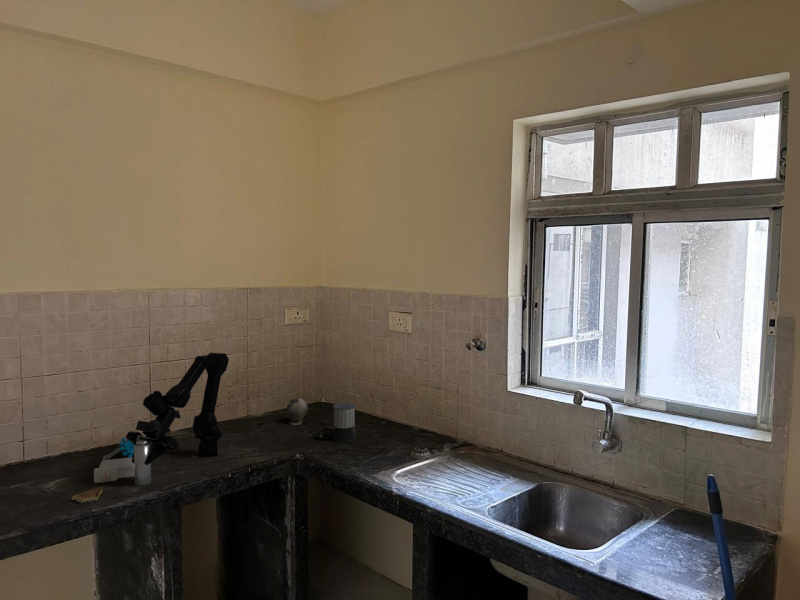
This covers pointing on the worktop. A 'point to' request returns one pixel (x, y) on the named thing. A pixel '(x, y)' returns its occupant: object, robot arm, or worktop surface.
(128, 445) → the gear
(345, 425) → the milk frother
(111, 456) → the combination wrench
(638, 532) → the worktop surface
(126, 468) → the kitchen scale
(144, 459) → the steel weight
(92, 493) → the shard
